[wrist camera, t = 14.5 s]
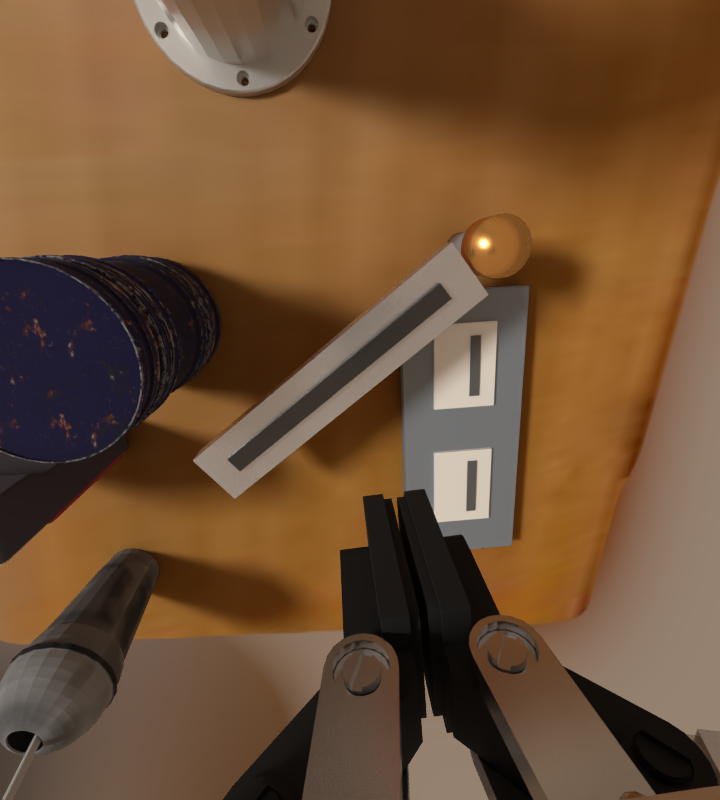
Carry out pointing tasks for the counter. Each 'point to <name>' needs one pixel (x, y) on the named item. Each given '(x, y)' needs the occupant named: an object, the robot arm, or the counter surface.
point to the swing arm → (365, 352)
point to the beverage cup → (74, 662)
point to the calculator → (44, 493)
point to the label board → (468, 417)
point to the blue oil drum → (95, 348)
